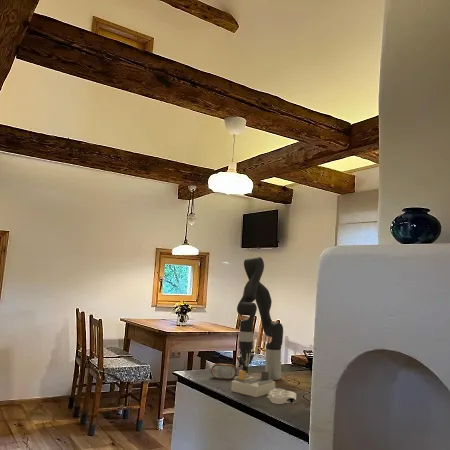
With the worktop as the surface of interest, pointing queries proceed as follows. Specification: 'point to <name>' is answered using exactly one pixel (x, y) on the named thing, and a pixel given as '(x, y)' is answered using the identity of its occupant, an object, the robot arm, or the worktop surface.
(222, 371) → the tin
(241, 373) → the breaker toggle
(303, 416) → the worktop surface
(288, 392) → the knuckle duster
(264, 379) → the toggle
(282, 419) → the worktop surface
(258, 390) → the breaker housing
